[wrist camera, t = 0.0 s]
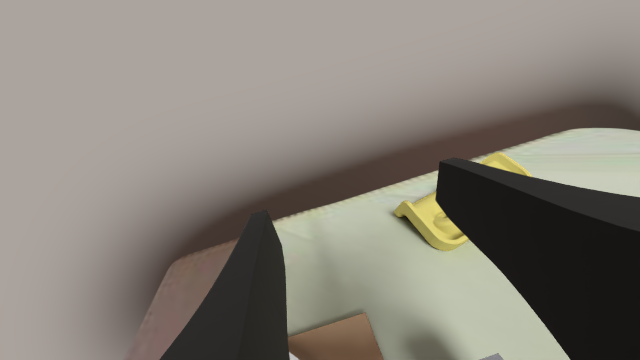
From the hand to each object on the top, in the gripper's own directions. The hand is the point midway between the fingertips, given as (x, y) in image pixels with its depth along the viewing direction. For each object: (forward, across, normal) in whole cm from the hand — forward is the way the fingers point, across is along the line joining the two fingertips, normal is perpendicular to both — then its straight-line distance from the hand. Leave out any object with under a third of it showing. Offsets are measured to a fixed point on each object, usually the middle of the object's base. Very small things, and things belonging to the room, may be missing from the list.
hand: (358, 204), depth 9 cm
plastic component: (+17, -22, +24) cm, 36 cm away
